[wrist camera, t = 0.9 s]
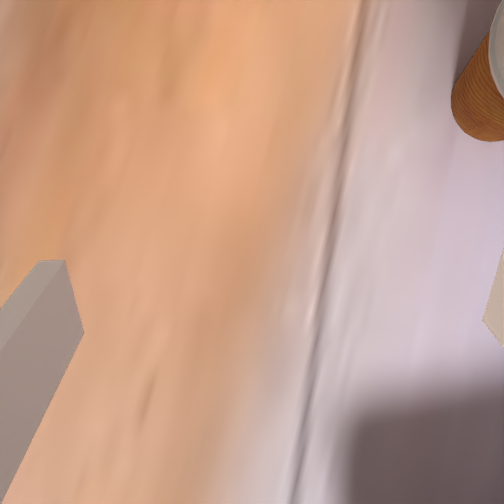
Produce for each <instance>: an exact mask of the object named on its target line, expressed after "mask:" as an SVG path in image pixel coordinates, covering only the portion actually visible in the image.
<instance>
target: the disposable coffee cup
mask: <svg viewBox="0 0 504 504" xmlns="http://www.w3.org/2000/svg"><path fill="white" fill-rule="evenodd" d="M451 108H452V112H453V116H454V118H455V120H456V122H457V124H458V125H459V126H460V128H461V129H462V130H463V131H464V132H465V133H467V134H468V135H470V136H472V137H473V138H476V139H478V140H482V141H488V142H493V141H502V140H504V0H502V1H501V2H500V4H499V6H498V8H497V10H496V13H495V16H494V19H493V22H492V25H491V28H490V31H489V32H488V34H487V35H486V37H485V38H484V40H483V42H482V43H481V45H480V46H479V48H478V49H477V51H476V52H475V54H474V55H473V57H472V59H471V60H470V62H469V63H468V65H467V66H466V68H465V69H464V71H463V72H462V74H461V75H460V77H459V78H458V80H457V81H456V83H455V85H454V88H453V91H452V96H451Z"/></svg>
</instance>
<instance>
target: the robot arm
mask: <svg viewBox="0 0 504 504" xmlns="http://www.w3.org/2000/svg"><path fill="white" fill-rule="evenodd" d="M482 321H483V322H484V323H485V325H486V326H487V327H488V329H489V330H490V331H491V332H492V334H493V335H494V336H495V338H496V339H497V340H498V341H499V343H500V344H501V345H502V347H503V348H504V249H503V252H502V255H501V259H500V262H499V266H498V269H497V272H496V276H495V279H494V283H493V286H492V289H491V293H490V296H489V300H488V303H487V306H486V310H485V313H484V316H483V320H482ZM83 334H84V330H83V326H82V322H81V319H80V315H79V311H78V307H77V304H76V300H75V296H74V292H73V288H72V285H71V281H70V277H69V273H68V270H67V266H66V262H65V260H46V261H38V263H37V264H36V265H35V266H34V268H33V269H32V270H31V271H30V273H29V274H28V275H27V276H26V278H25V279H24V280H23V281H22V283H21V284H20V285H19V286H18V287H17V289H16V290H15V291H14V292H13V294H12V295H11V296H10V297H9V299H8V300H7V301H6V302H5V304H4V305H3V306H2V307H1V309H0V504H1V503H2V501H3V499H4V497H5V494H6V492H7V490H8V488H9V486H10V484H11V482H12V480H13V478H14V476H15V474H16V472H17V470H18V468H19V466H20V464H21V462H22V460H23V457H24V455H25V453H26V451H27V449H28V447H29V445H30V443H31V441H32V439H33V437H34V435H35V433H36V431H37V429H38V427H39V425H40V423H41V420H42V418H43V416H44V414H45V412H46V410H47V408H48V406H49V404H50V402H51V400H52V398H53V396H54V394H55V392H56V390H57V388H58V386H59V383H60V381H61V379H62V377H63V375H64V373H65V371H66V369H67V367H68V365H69V363H70V361H71V359H72V357H73V355H74V353H75V351H76V349H77V346H78V344H79V342H80V340H81V338H82V336H83Z"/></svg>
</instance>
